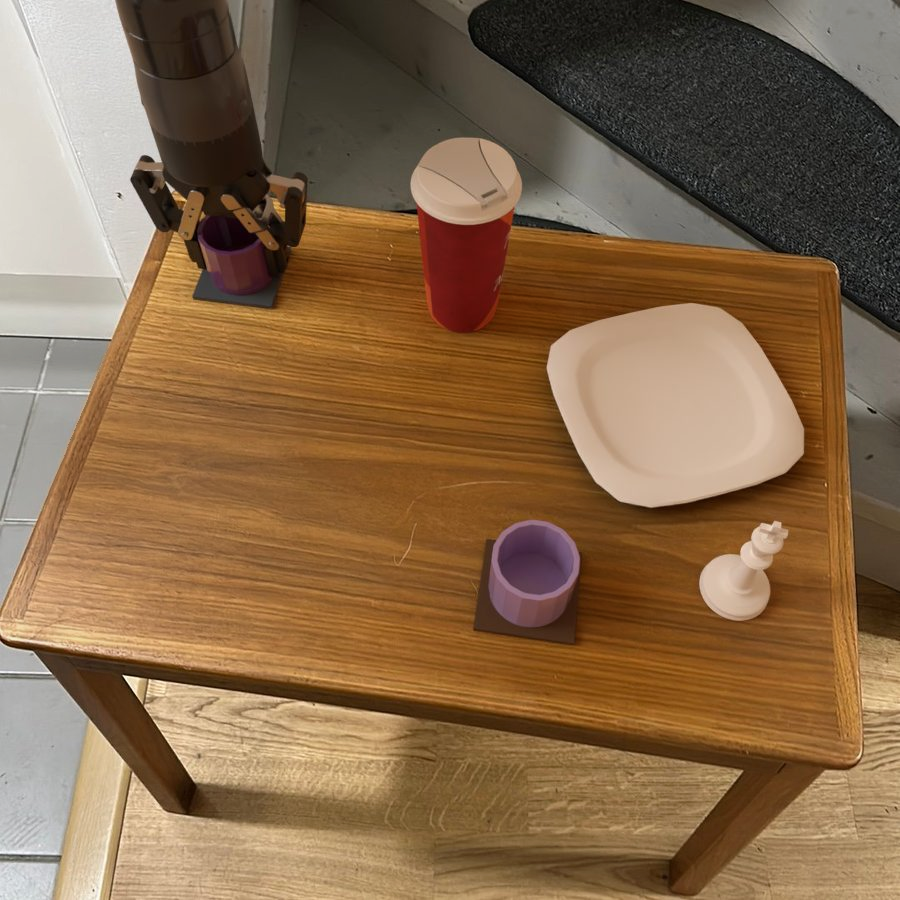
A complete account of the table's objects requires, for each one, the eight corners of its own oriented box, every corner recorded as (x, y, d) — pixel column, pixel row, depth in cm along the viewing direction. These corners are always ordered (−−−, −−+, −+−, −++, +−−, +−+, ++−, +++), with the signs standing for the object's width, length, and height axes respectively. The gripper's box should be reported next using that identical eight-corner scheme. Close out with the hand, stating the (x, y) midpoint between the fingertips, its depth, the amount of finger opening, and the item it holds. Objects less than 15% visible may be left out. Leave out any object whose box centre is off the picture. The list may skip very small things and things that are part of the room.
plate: (723, 302, 80) (728, 288, 79) (824, 475, 71) (832, 463, 70) (526, 346, 77) (528, 333, 76) (604, 532, 68) (608, 522, 67)
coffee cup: (528, 316, 79) (546, 180, 66) (449, 358, 77) (452, 226, 64) (472, 256, 83) (479, 116, 70) (395, 294, 80) (387, 157, 67)
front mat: (473, 630, 64) (473, 628, 64) (486, 540, 68) (486, 538, 67) (573, 645, 64) (574, 643, 63) (581, 554, 67) (582, 551, 67)
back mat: (192, 299, 80) (191, 296, 79) (215, 240, 83) (214, 237, 83) (272, 309, 79) (271, 306, 79) (291, 250, 83) (291, 246, 82)
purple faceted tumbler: (201, 291, 80) (188, 250, 75) (220, 242, 83) (208, 200, 78) (267, 299, 79) (257, 258, 75) (283, 250, 82) (275, 208, 78)
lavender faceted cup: (483, 621, 64) (486, 592, 60) (493, 546, 67) (497, 514, 63) (566, 633, 64) (576, 605, 59) (573, 557, 67) (582, 526, 62)
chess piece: (764, 629, 64) (814, 570, 56) (694, 609, 65) (732, 548, 57) (772, 567, 67) (821, 501, 58) (704, 549, 68) (743, 481, 59)
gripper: (309, 80, 68) (331, 244, 82) (119, 60, 69) (175, 226, 83) (284, 149, 64) (312, 309, 78) (84, 127, 65) (148, 288, 79)
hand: (241, 265), depth 80 cm, fingers closed on purple faceted tumbler, 5 cm apart
